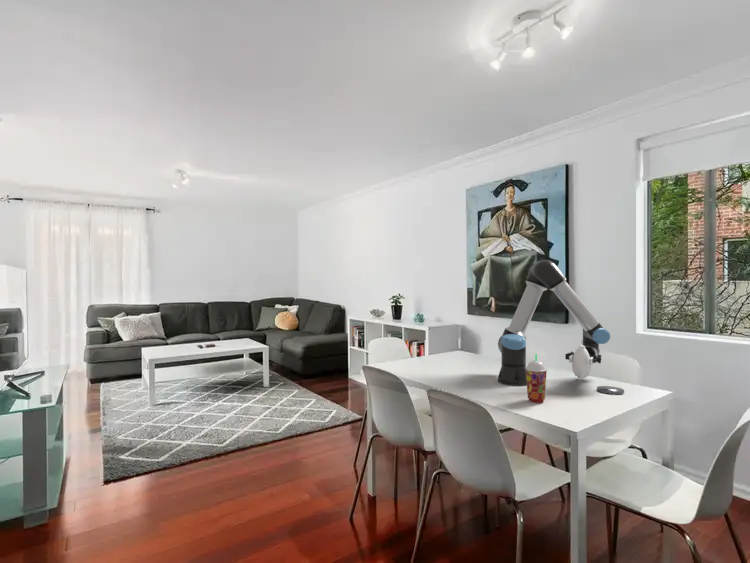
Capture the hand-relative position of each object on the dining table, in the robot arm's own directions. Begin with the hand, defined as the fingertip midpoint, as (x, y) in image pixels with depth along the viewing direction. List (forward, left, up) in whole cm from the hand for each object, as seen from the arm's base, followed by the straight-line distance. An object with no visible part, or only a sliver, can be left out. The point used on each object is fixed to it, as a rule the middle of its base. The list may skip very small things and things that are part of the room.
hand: (580, 360), depth 193 cm
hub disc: (+13, -9, -15) cm, 22 cm away
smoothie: (-27, +8, -15) cm, 32 cm away
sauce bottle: (+5, +1, -9) cm, 10 cm away
